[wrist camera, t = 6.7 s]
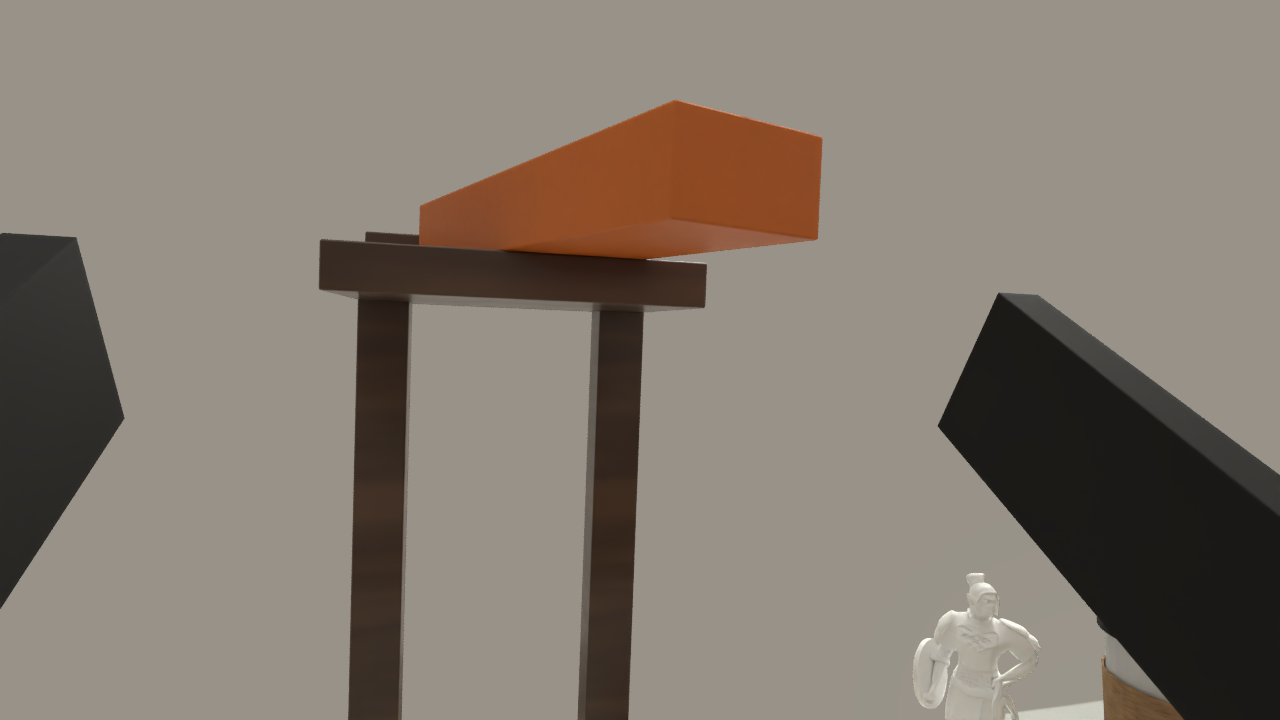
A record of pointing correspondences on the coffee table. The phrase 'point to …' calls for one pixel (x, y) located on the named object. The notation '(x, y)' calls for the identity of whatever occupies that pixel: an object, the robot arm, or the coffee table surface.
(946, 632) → the figurine
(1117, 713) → the coffee cup
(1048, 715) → the coffee table surface
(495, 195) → the orange block
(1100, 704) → the coffee table surface
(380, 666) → the walnut rack
